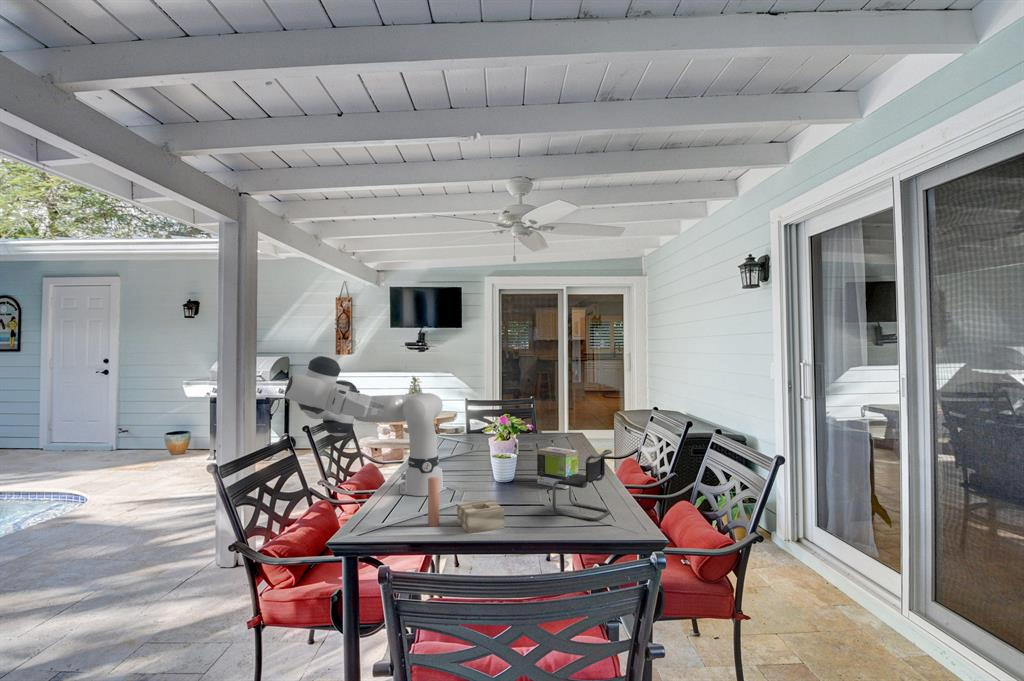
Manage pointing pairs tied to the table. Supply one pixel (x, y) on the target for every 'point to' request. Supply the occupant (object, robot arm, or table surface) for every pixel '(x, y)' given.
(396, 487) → the table surface
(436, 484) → the dowel
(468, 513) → the socket block
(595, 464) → the chair
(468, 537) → the table surface
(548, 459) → the tea box
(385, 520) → the table surface
